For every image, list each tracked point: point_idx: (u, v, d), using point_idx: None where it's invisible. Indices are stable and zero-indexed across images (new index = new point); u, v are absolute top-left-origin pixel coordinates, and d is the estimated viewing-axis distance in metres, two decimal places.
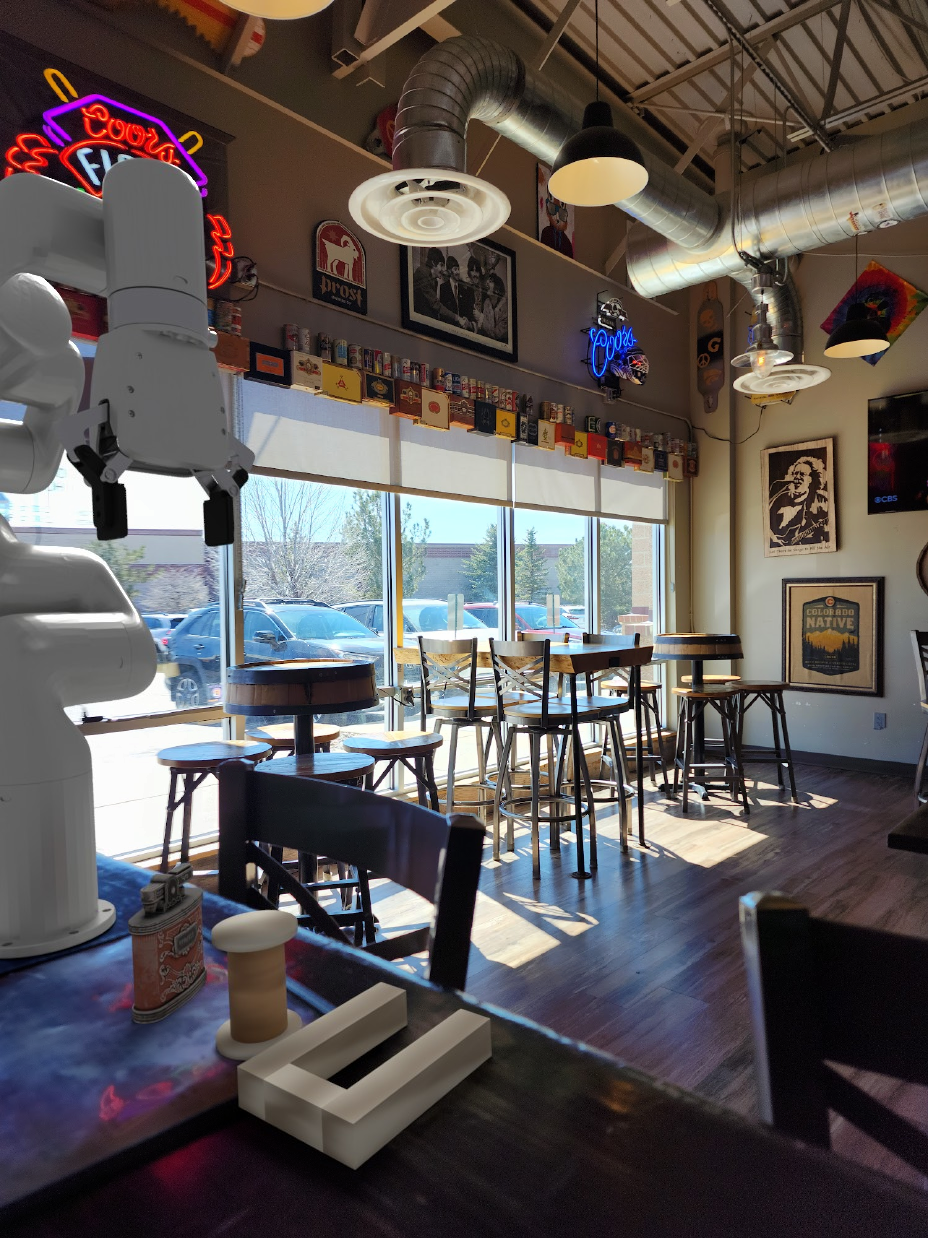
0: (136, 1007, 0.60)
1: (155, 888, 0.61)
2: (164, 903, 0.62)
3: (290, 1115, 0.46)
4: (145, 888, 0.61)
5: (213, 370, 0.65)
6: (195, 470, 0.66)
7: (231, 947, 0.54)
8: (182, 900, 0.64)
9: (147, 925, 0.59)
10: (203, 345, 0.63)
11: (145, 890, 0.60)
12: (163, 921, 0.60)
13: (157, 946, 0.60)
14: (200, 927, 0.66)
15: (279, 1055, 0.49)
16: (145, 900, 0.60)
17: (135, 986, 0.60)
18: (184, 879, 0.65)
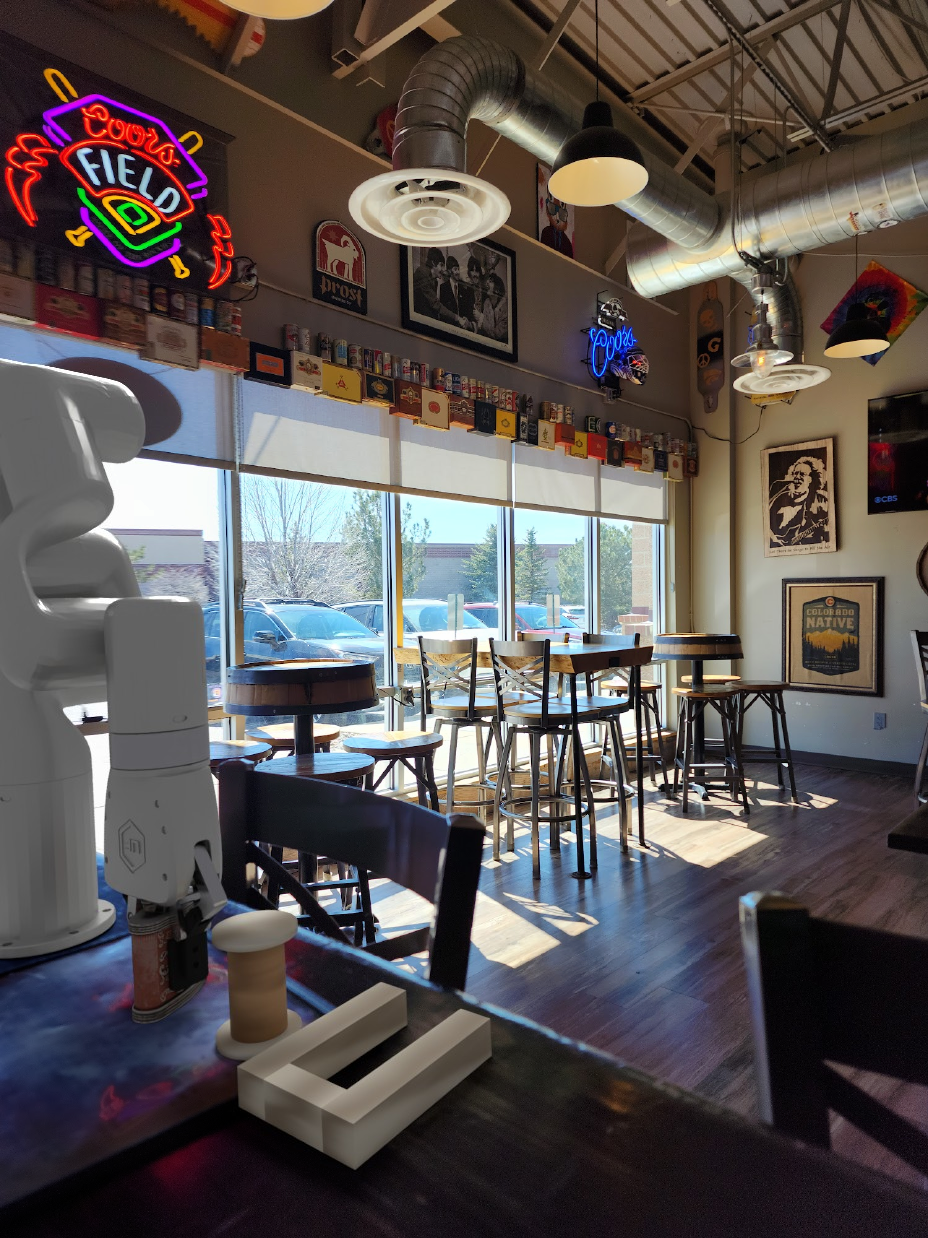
0: (136, 1007, 0.60)
1: None
2: None
3: (290, 1115, 0.46)
4: None
5: None
6: None
7: (231, 947, 0.54)
8: None
9: (147, 925, 0.59)
10: None
11: None
12: (163, 921, 0.60)
13: (157, 945, 0.60)
14: None
15: (279, 1055, 0.49)
16: None
17: (135, 986, 0.60)
18: None
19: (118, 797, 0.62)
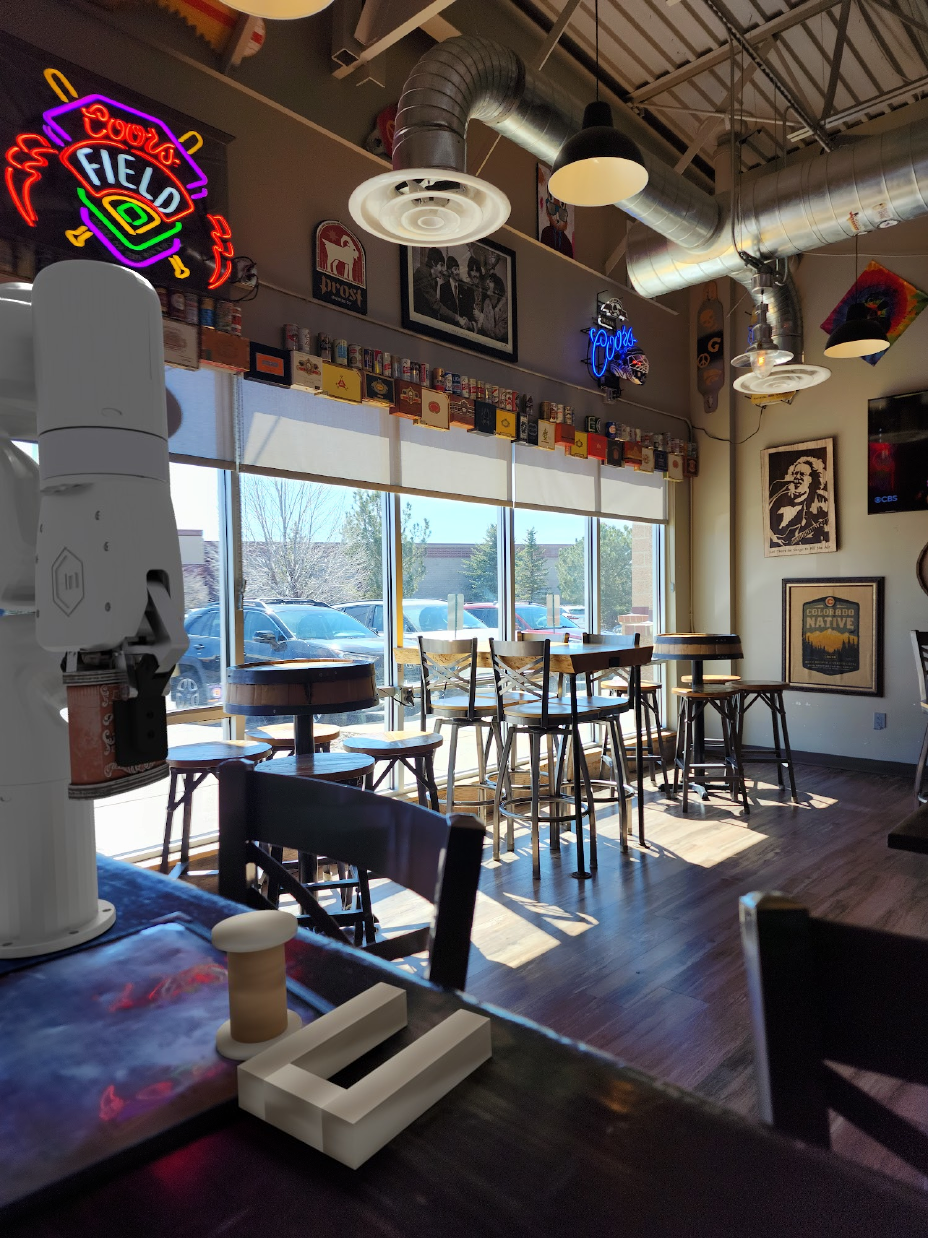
0: (72, 782, 0.46)
1: None
2: (110, 658, 0.48)
3: (290, 1115, 0.46)
4: None
5: None
6: None
7: (231, 947, 0.54)
8: (136, 666, 0.50)
9: (85, 673, 0.46)
10: None
11: None
12: (107, 673, 0.47)
13: (99, 703, 0.46)
14: None
15: (279, 1055, 0.49)
16: None
17: (71, 755, 0.46)
18: (139, 643, 0.51)
19: (51, 525, 0.48)
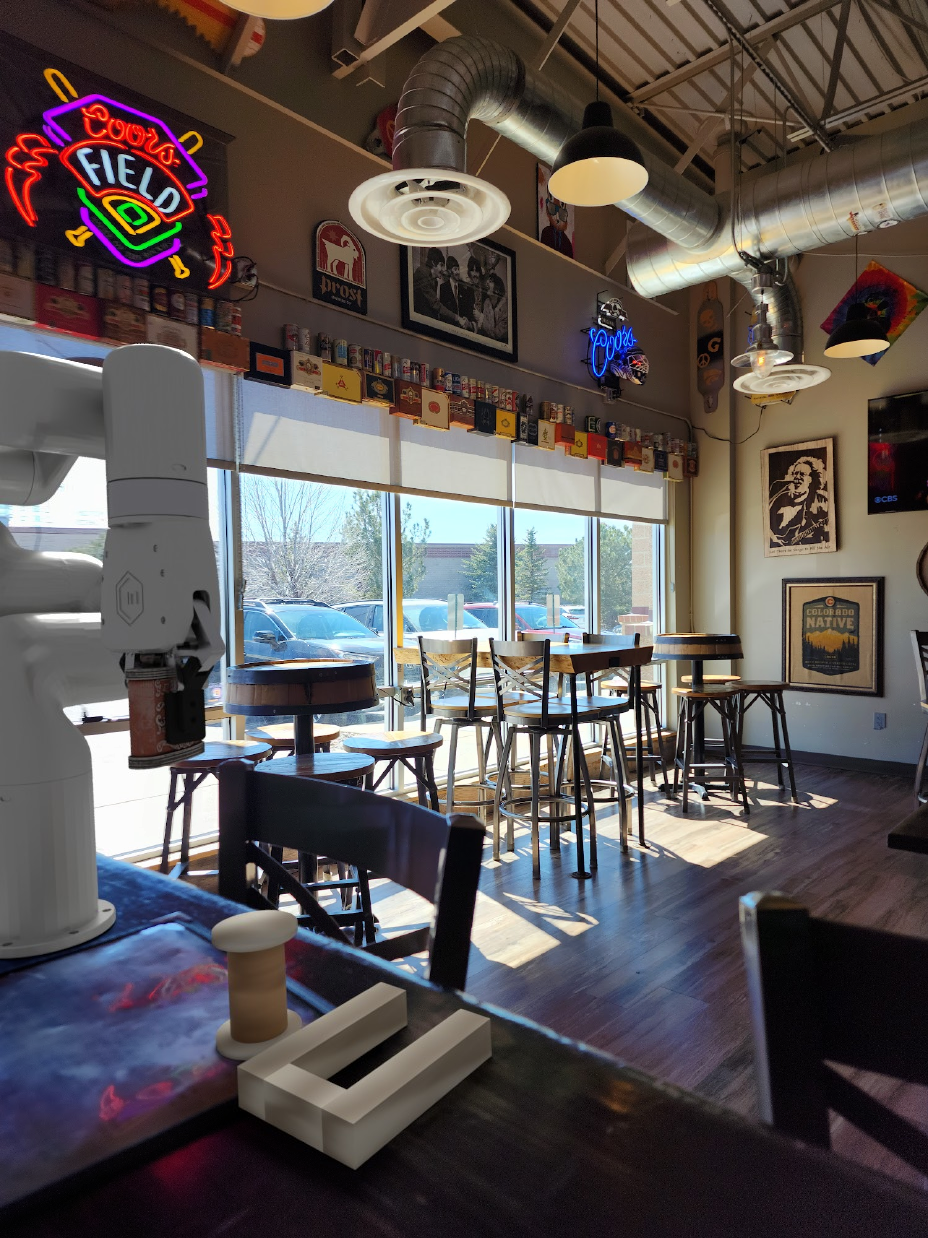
0: (132, 755, 0.59)
1: None
2: (162, 658, 0.61)
3: (290, 1115, 0.46)
4: None
5: None
6: None
7: (231, 947, 0.54)
8: None
9: (144, 670, 0.58)
10: None
11: None
12: (160, 670, 0.59)
13: (154, 693, 0.59)
14: None
15: (279, 1055, 0.49)
16: None
17: (131, 733, 0.59)
18: (183, 645, 0.64)
19: (116, 552, 0.61)
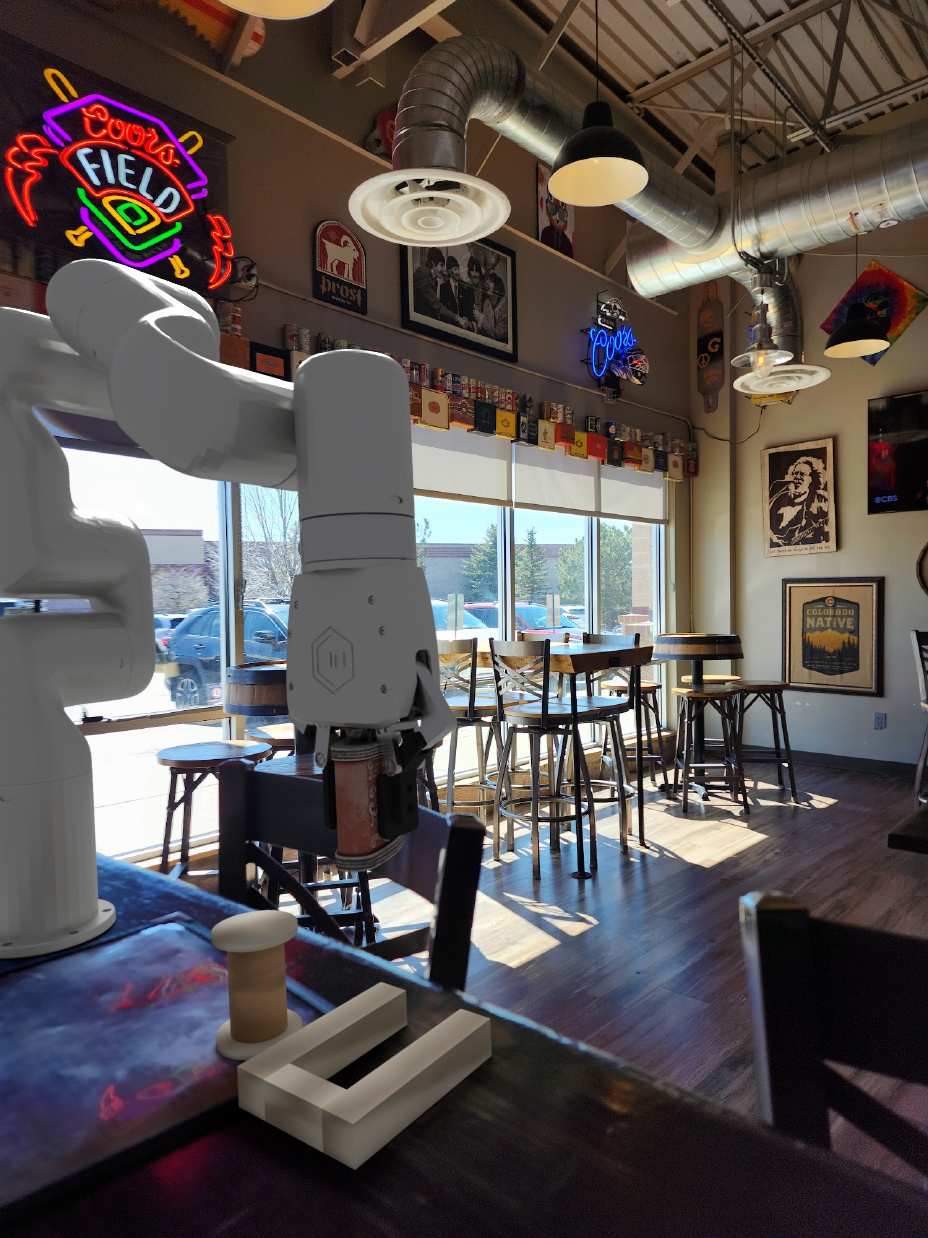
0: (341, 853, 0.48)
1: None
2: (369, 730, 0.50)
3: (290, 1115, 0.46)
4: None
5: None
6: None
7: (231, 947, 0.54)
8: None
9: (357, 749, 0.47)
10: None
11: None
12: (373, 748, 0.48)
13: (367, 777, 0.48)
14: None
15: (279, 1055, 0.49)
16: None
17: (340, 827, 0.48)
18: None
19: (311, 603, 0.50)
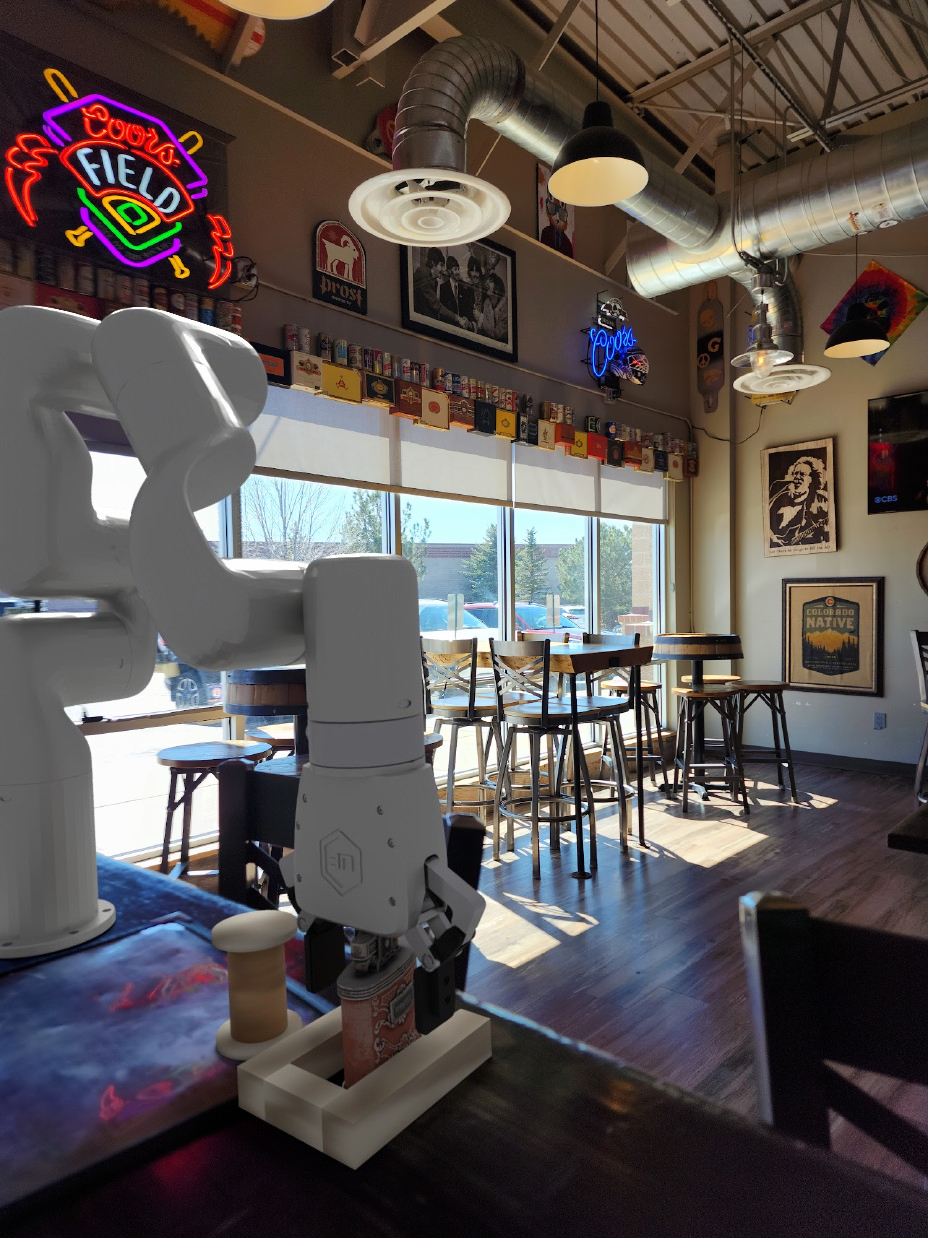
0: (347, 1088, 0.48)
1: (367, 940, 0.49)
2: (377, 959, 0.50)
3: (290, 1115, 0.46)
4: (355, 940, 0.49)
5: None
6: None
7: (231, 947, 0.54)
8: (396, 954, 0.52)
9: (360, 989, 0.48)
10: None
11: (356, 943, 0.49)
12: (378, 984, 0.48)
13: (371, 1014, 0.48)
14: None
15: (279, 1055, 0.49)
16: (356, 956, 0.49)
17: (346, 1062, 0.48)
18: None
19: (319, 801, 0.50)
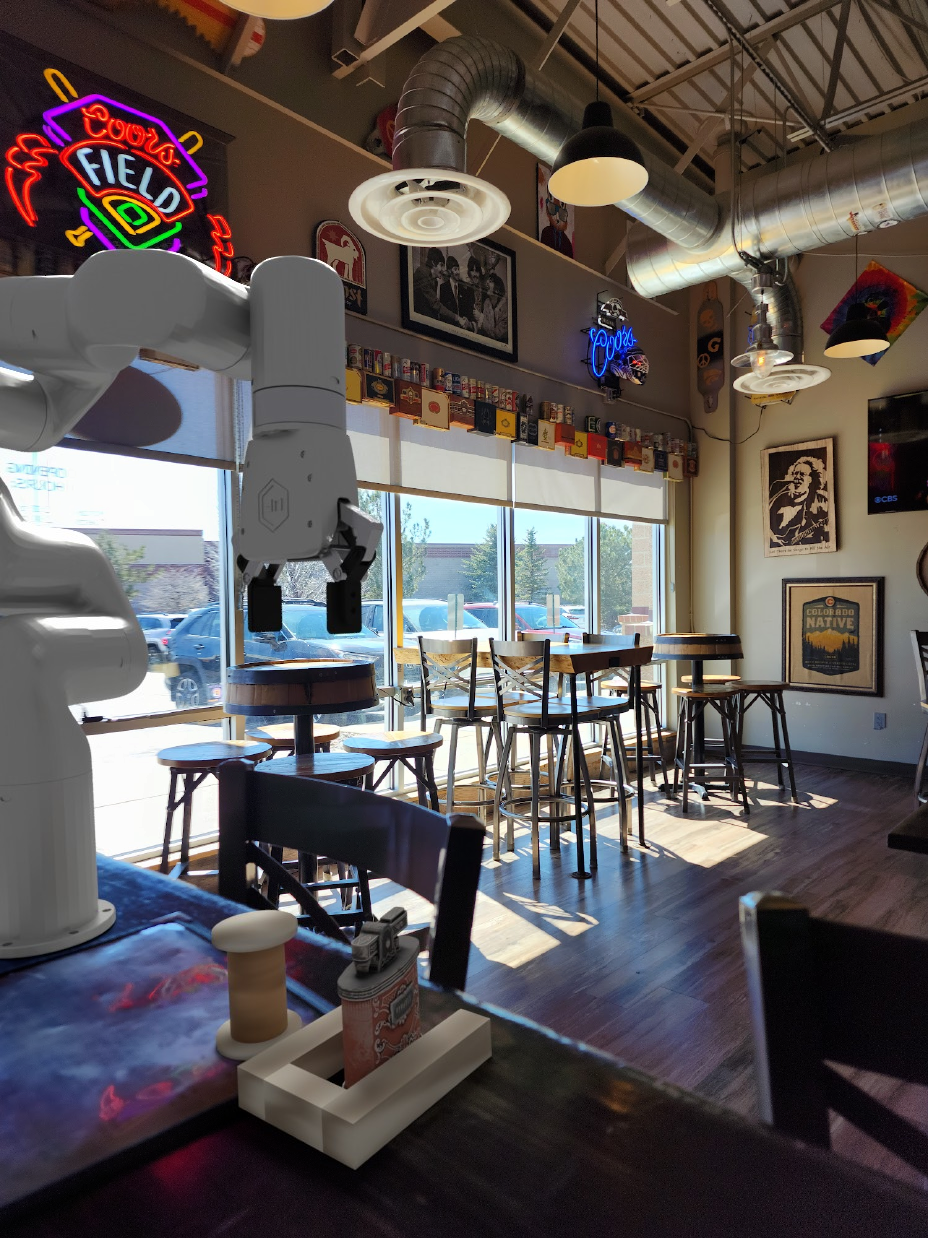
0: None
1: (367, 941, 0.49)
2: (378, 960, 0.50)
3: (290, 1115, 0.46)
4: (356, 941, 0.49)
5: None
6: None
7: (231, 947, 0.54)
8: (397, 954, 0.52)
9: (360, 990, 0.47)
10: None
11: (357, 944, 0.49)
12: (378, 985, 0.48)
13: (372, 1015, 0.48)
14: (417, 987, 0.54)
15: (279, 1055, 0.49)
16: (357, 956, 0.49)
17: (346, 1063, 0.48)
18: (398, 928, 0.53)
19: (259, 462, 0.63)
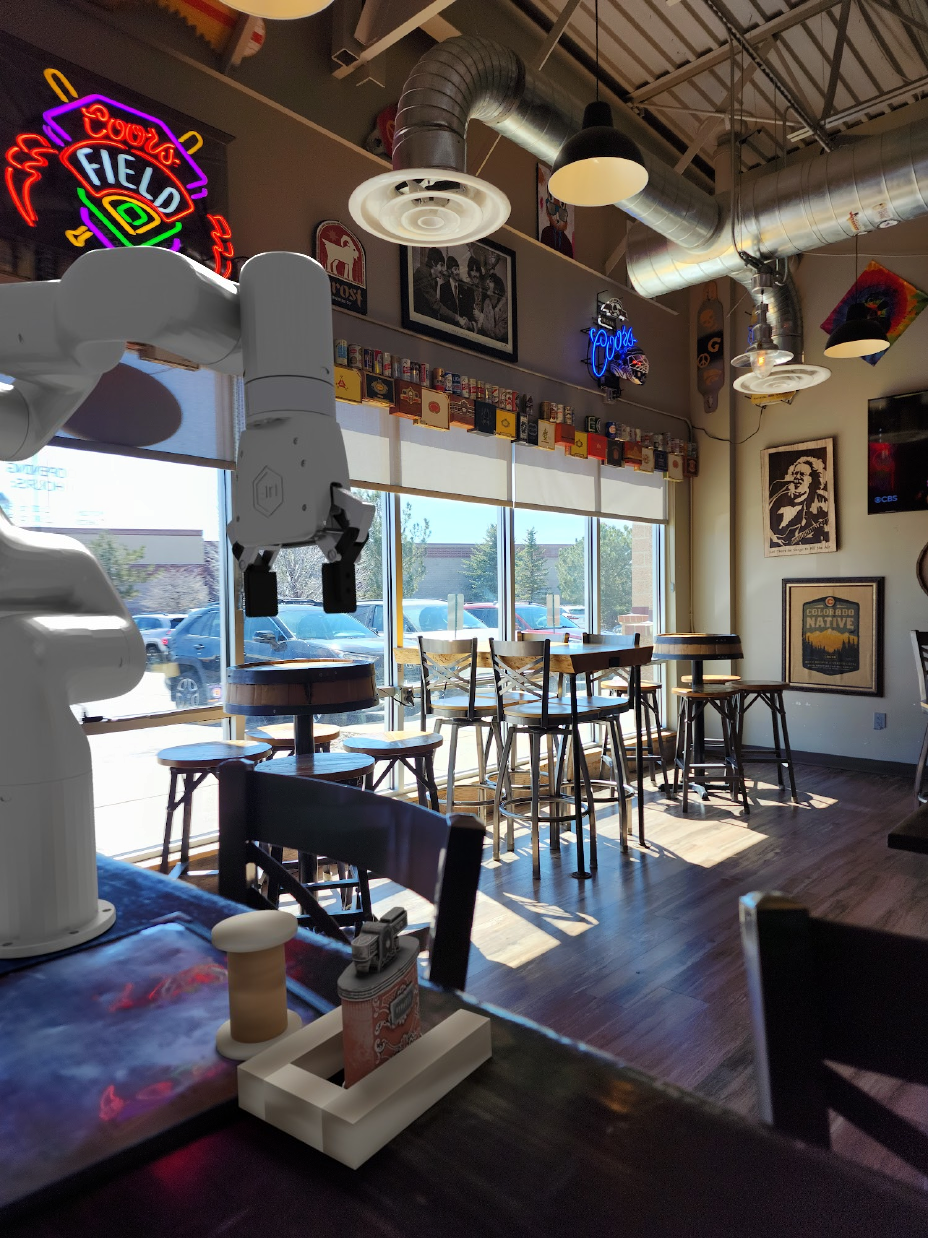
0: None
1: (368, 941, 0.49)
2: (378, 960, 0.50)
3: (290, 1115, 0.46)
4: (356, 941, 0.49)
5: None
6: None
7: (231, 947, 0.54)
8: (397, 954, 0.52)
9: (360, 990, 0.47)
10: None
11: (357, 944, 0.49)
12: (378, 985, 0.48)
13: (372, 1015, 0.48)
14: (417, 987, 0.54)
15: (279, 1055, 0.49)
16: (357, 956, 0.49)
17: (346, 1063, 0.48)
18: (398, 928, 0.53)
19: (252, 450, 0.65)
